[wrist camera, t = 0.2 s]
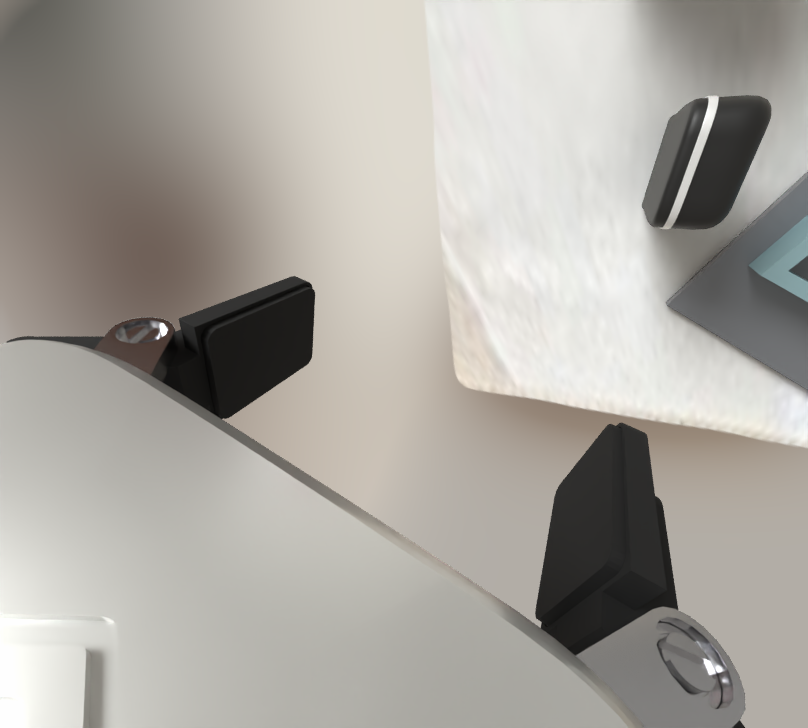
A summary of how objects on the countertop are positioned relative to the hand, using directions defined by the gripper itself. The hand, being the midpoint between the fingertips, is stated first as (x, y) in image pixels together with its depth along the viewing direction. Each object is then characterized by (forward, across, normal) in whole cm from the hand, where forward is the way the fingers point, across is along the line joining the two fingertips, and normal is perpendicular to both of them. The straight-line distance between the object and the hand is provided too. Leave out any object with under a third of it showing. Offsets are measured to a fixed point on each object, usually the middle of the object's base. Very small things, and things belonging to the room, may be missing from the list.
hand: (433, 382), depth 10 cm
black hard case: (+30, -7, -7) cm, 32 cm away
